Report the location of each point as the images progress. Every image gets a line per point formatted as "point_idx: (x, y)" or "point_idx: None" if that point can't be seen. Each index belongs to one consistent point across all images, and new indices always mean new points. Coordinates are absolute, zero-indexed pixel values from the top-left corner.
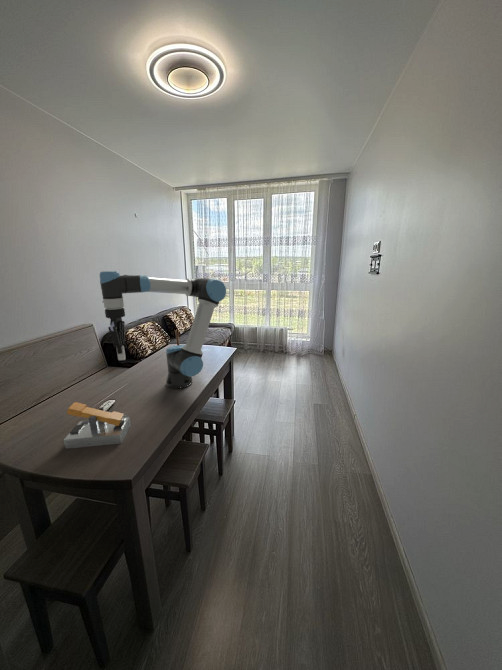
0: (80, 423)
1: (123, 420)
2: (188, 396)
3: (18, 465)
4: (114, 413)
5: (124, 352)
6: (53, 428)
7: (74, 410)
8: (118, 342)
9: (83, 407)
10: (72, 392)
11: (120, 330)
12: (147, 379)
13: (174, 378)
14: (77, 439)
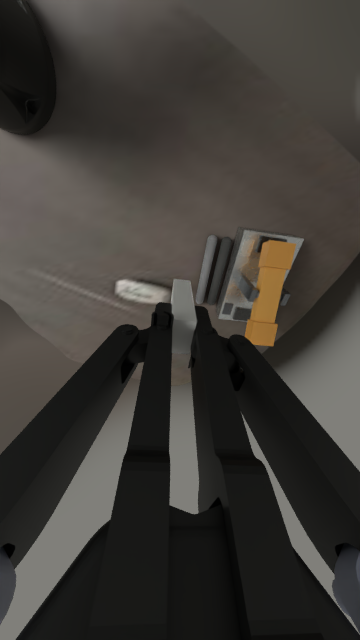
0: (225, 315)
1: (254, 241)
2: (122, 7)
3: (263, 349)
4: (273, 261)
5: (178, 295)
6: None
7: (274, 334)
8: (265, 363)
9: (265, 324)
10: (80, 357)
11: (258, 476)
12: None
13: (18, 62)
14: None
